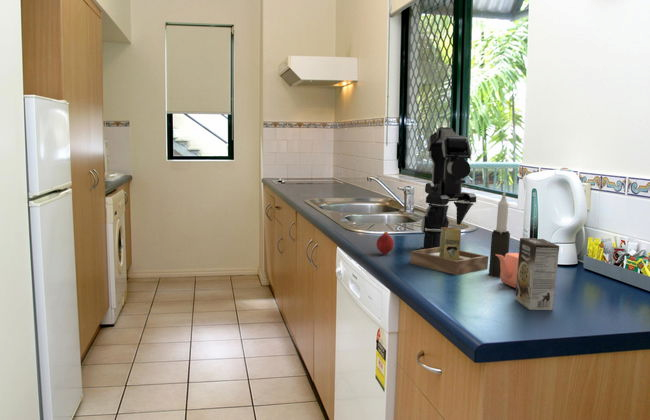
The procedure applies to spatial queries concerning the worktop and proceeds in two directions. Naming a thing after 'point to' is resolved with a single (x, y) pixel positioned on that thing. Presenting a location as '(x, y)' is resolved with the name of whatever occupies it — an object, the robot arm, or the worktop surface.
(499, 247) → the candle
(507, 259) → the teapot
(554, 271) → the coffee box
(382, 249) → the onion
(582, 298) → the worktop surface
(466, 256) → the walnut crate with socket plate
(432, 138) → the robot arm
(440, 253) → the shoe polish box
